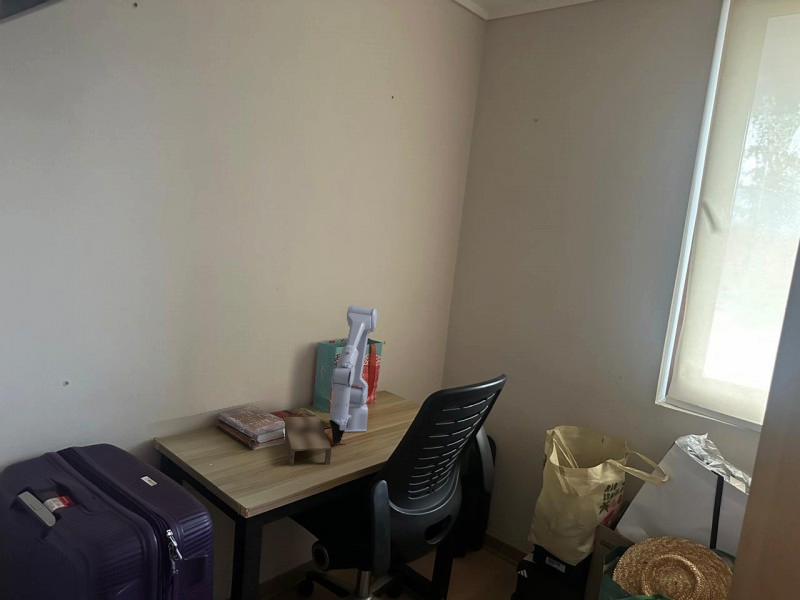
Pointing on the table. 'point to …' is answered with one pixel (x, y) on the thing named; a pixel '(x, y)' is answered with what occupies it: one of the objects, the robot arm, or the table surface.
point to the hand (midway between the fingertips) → (336, 442)
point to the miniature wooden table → (305, 436)
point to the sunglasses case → (329, 439)
